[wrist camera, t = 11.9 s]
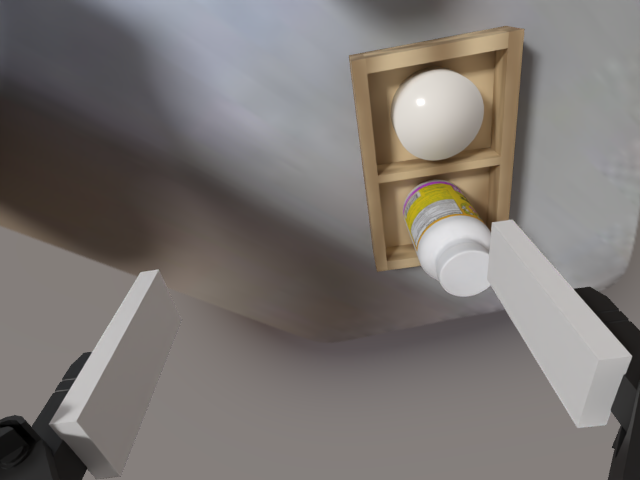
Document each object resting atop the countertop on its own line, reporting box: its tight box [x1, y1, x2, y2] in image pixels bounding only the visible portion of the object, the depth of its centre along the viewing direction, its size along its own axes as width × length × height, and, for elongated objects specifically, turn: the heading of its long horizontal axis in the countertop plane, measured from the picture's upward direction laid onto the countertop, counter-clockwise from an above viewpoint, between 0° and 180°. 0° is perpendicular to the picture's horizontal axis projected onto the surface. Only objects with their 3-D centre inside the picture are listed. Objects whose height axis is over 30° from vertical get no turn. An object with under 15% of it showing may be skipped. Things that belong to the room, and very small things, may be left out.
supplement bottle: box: [403, 180, 491, 297], centre depth 38 cm, size 7×7×13 cm
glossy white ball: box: [390, 66, 484, 160], centre depth 37 cm, size 8×8×4 cm
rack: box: [349, 26, 524, 272], centre depth 40 cm, size 14×22×4 cm, turn 10°
